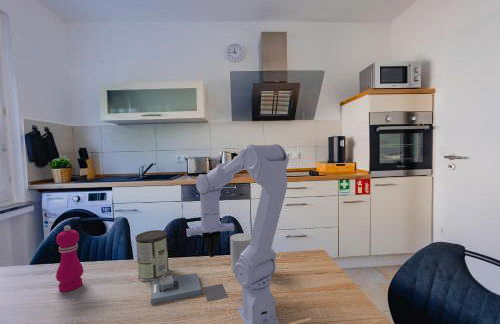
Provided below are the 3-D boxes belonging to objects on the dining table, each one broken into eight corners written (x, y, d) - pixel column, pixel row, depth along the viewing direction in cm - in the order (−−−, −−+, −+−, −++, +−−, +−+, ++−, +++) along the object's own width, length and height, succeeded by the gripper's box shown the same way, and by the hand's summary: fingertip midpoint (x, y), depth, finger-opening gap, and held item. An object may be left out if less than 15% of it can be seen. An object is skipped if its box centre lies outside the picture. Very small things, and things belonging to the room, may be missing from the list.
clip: (173, 281, 77) (160, 283, 76) (173, 294, 78) (161, 297, 76) (171, 275, 81) (159, 277, 80) (172, 287, 81) (160, 290, 80)
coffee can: (146, 267, 96) (144, 229, 95) (173, 267, 95) (171, 230, 94) (131, 281, 86) (129, 239, 85) (161, 282, 85) (159, 240, 84)
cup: (254, 275, 87) (253, 241, 87) (230, 276, 87) (229, 241, 87) (254, 265, 95) (253, 233, 95) (232, 265, 96) (231, 233, 95)
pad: (228, 298, 74) (228, 297, 74) (207, 302, 72) (207, 301, 72) (222, 284, 82) (222, 283, 82) (203, 288, 80) (203, 287, 80)
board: (201, 295, 76) (201, 288, 76) (151, 305, 72) (150, 298, 72) (196, 277, 87) (196, 272, 87) (152, 286, 82) (152, 280, 82)
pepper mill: (70, 293, 79) (66, 229, 78) (51, 291, 80) (46, 228, 79) (89, 281, 86) (86, 222, 85) (71, 280, 87) (67, 222, 86)
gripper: (229, 207, 86) (231, 247, 87) (185, 212, 81) (186, 254, 82) (235, 212, 79) (236, 255, 80) (187, 217, 75) (188, 263, 75)
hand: (211, 255), depth 80 cm, fingers closed
